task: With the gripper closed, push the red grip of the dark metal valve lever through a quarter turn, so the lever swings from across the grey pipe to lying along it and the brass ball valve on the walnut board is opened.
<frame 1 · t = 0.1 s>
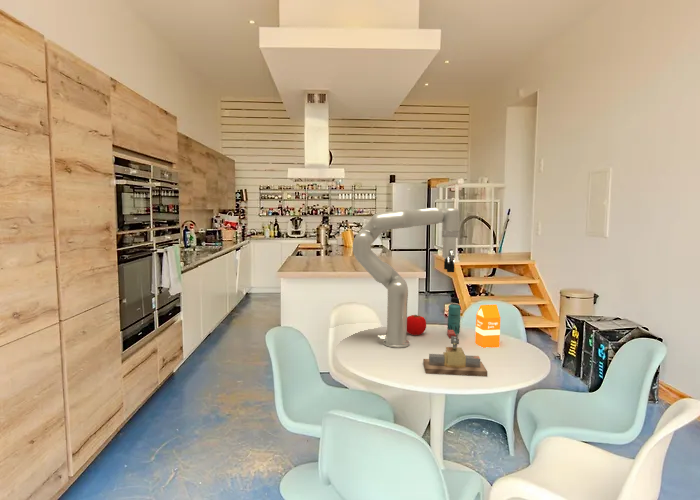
hand: (448, 270, 209), 37 cm above the table, tool pointing down, fingers open, 9 cm apart
orange juice: (486, 345, 215), on the table
lever: (452, 336, 186), point 12 cm above the table, hinge at 0.0°
valve: (454, 354, 180), on the board, point 6 cm above the table
board: (453, 369, 180), on the table
tomato: (415, 334, 233), on the table
beverage bottle: (453, 335, 231), on the table
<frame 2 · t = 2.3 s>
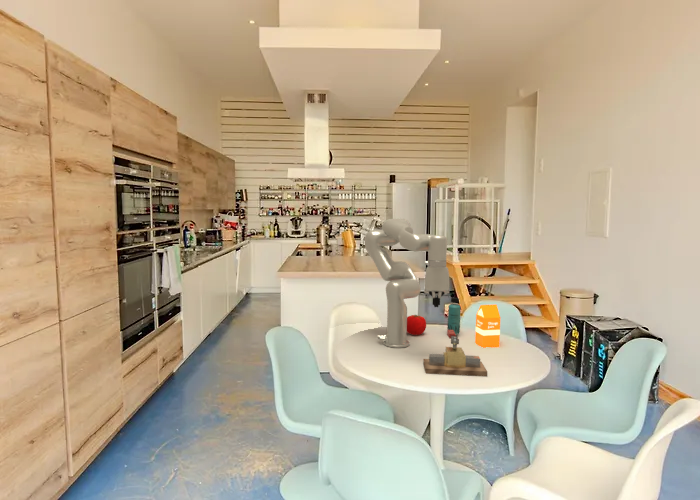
hand: (436, 306, 190), 24 cm above the table, tool pointing down, fingers closed
nothing on the table moved.
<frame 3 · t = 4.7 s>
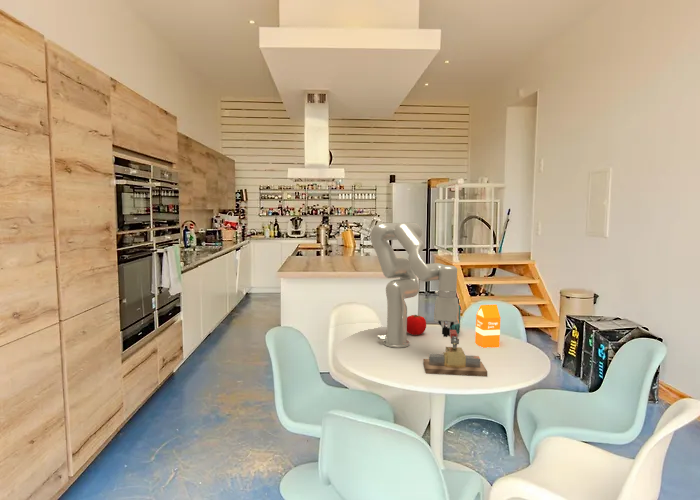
hand: (445, 336, 190), 11 cm above the table, tool pointing down, fingers closed
lever: (454, 336, 186), point 12 cm above the table, hinge at 4.6°, touching gripper
everything else where it was.
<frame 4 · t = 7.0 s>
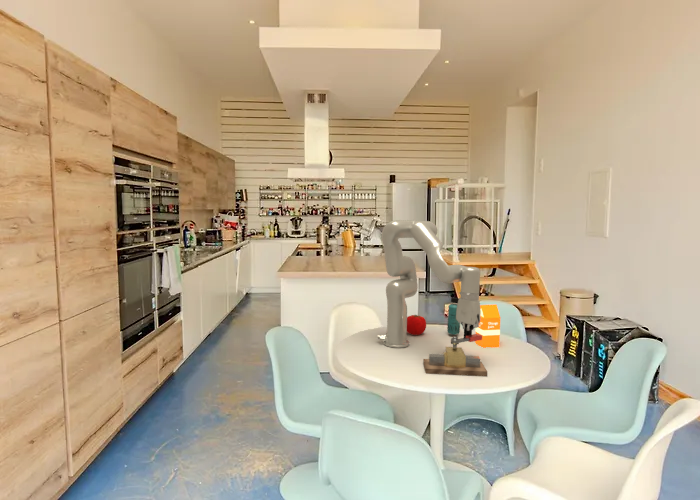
hand: (467, 338, 188), 11 cm above the table, tool pointing down, fingers closed
lever: (466, 338, 183), point 12 cm above the table, hinge at 53.1°, touching gripper
everything else where it was.
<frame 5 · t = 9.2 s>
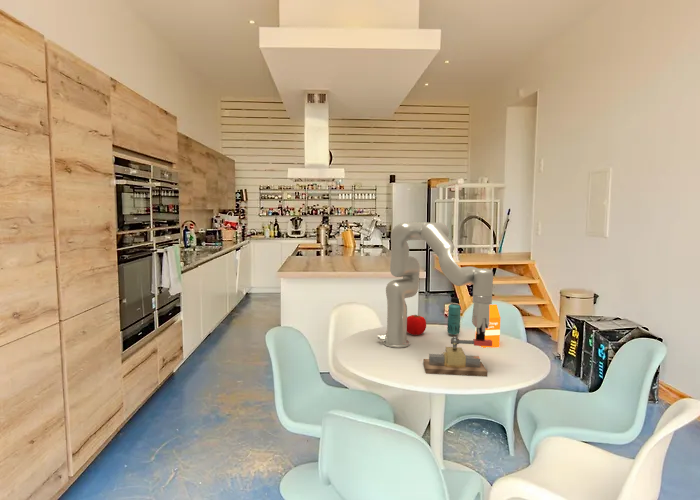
hand: (480, 343, 182), 11 cm above the table, tool pointing down, fingers closed
lever: (471, 341, 179), point 12 cm above the table, hinge at 90.2°, touching gripper
everything else where it was.
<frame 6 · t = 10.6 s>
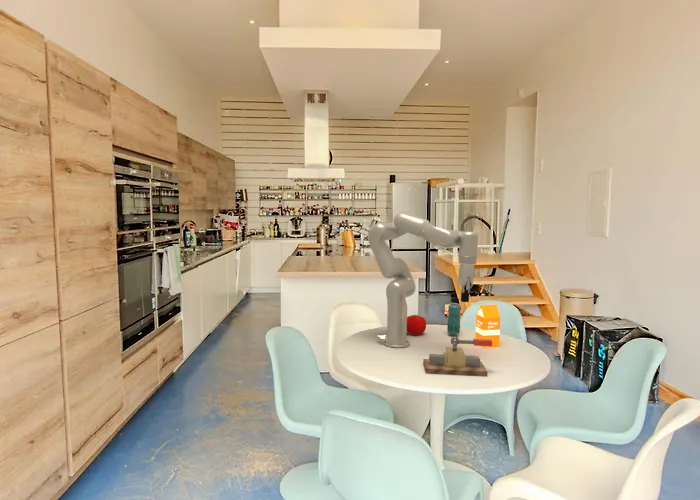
hand: (464, 301, 193), 25 cm above the table, tool pointing down, fingers closed
lever: (471, 341, 179), point 12 cm above the table, hinge at 90.3°
everything else where it was.
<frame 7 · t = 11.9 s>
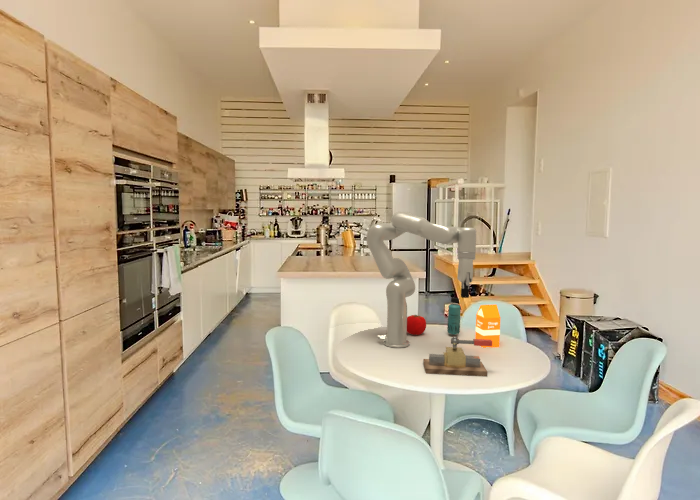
hand: (464, 297, 193), 27 cm above the table, tool pointing down, fingers closed
nothing on the table moved.
at the end: lever at +90° (first picture: +0°); beverage bottle moved 0.2 cm from its start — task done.
